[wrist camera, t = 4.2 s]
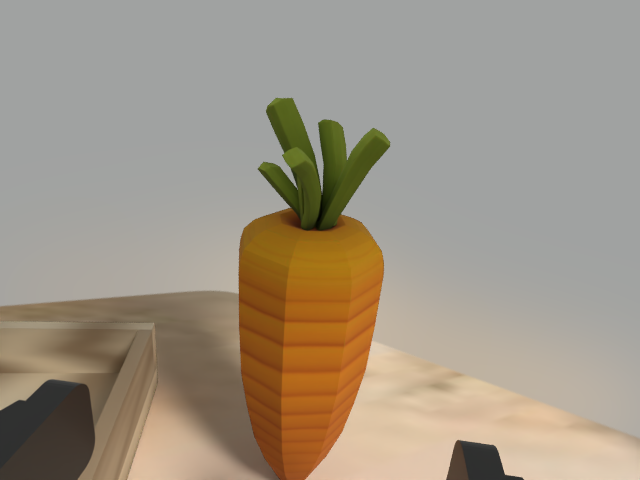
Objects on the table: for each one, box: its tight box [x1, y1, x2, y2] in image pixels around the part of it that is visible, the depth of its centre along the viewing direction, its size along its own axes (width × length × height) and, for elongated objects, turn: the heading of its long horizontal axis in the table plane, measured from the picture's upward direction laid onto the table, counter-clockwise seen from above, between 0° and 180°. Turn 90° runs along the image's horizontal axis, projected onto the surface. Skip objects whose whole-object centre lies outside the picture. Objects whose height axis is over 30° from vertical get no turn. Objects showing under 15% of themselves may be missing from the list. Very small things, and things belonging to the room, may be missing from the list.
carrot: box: [239, 98, 390, 480], centre depth 17 cm, size 5×5×15 cm
